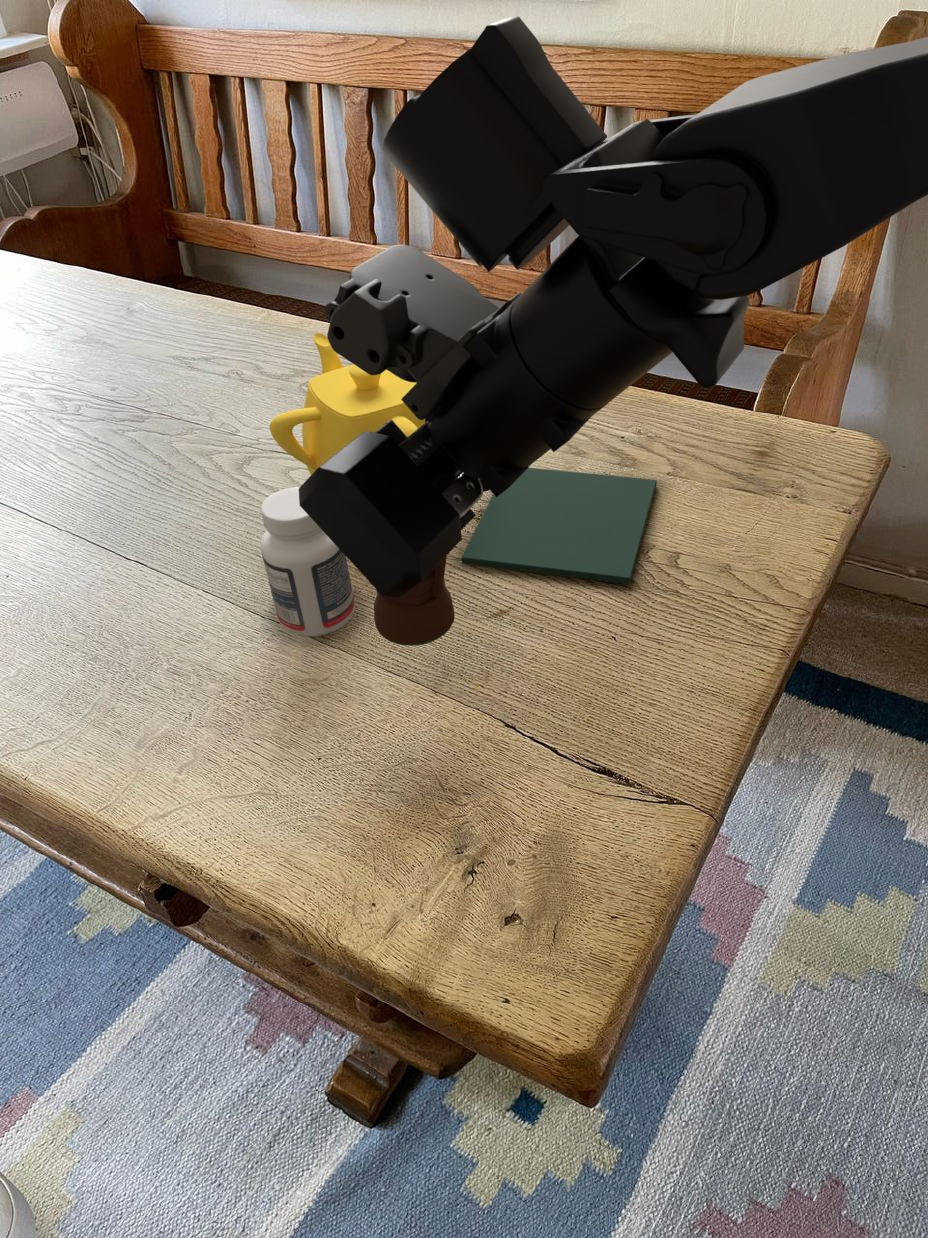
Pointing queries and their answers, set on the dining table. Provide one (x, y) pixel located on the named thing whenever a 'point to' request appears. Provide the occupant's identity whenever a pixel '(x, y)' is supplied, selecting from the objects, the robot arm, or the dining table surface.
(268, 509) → the pill bottle
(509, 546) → the play mat
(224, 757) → the dining table surface
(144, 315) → the dining table surface
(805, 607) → the dining table surface
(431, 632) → the chess piece
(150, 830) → the dining table surface
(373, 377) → the teapot
